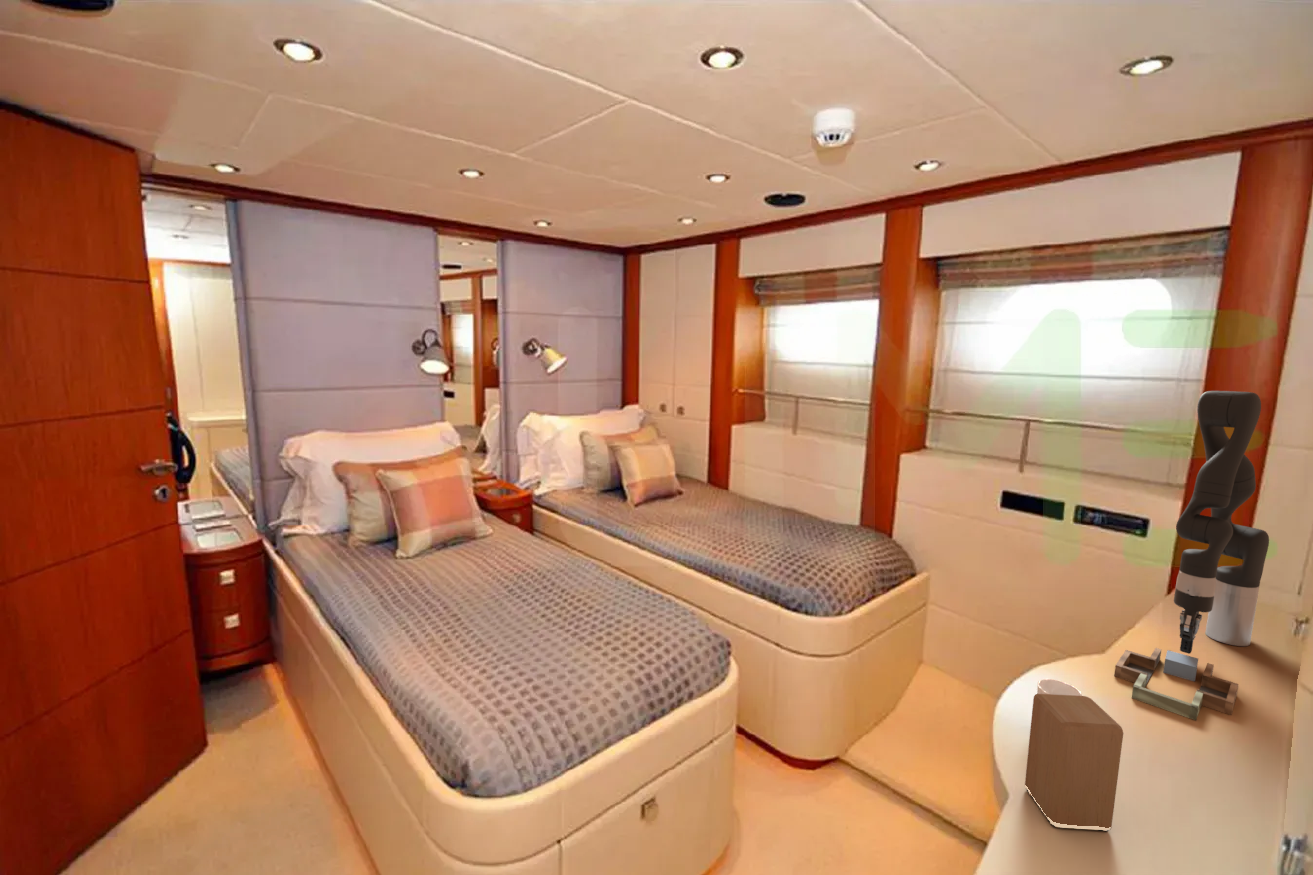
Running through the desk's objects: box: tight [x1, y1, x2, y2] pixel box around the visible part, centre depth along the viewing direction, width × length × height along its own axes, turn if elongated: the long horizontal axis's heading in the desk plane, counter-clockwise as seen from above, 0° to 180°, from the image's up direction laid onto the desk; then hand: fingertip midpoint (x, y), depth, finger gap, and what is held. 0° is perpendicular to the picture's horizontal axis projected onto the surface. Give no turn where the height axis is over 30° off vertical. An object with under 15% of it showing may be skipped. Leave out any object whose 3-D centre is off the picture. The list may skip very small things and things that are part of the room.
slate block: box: [1162, 649, 1199, 683], centre depth 149 cm, size 6×6×4 cm
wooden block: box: [1024, 693, 1124, 828], centre depth 104 cm, size 10×10×20 cm
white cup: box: [1036, 678, 1083, 696], centre depth 126 cm, size 8×8×10 cm
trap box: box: [1113, 647, 1239, 721], centre depth 143 cm, size 27×21×3 cm
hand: (1185, 651), depth 155 cm, fingers closed
